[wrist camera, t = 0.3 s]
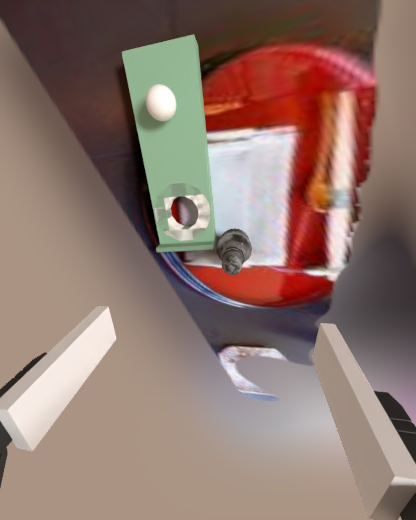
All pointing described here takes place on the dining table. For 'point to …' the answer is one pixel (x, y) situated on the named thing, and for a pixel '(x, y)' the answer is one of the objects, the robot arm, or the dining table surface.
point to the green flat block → (174, 140)
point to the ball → (161, 102)
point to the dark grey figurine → (233, 250)
